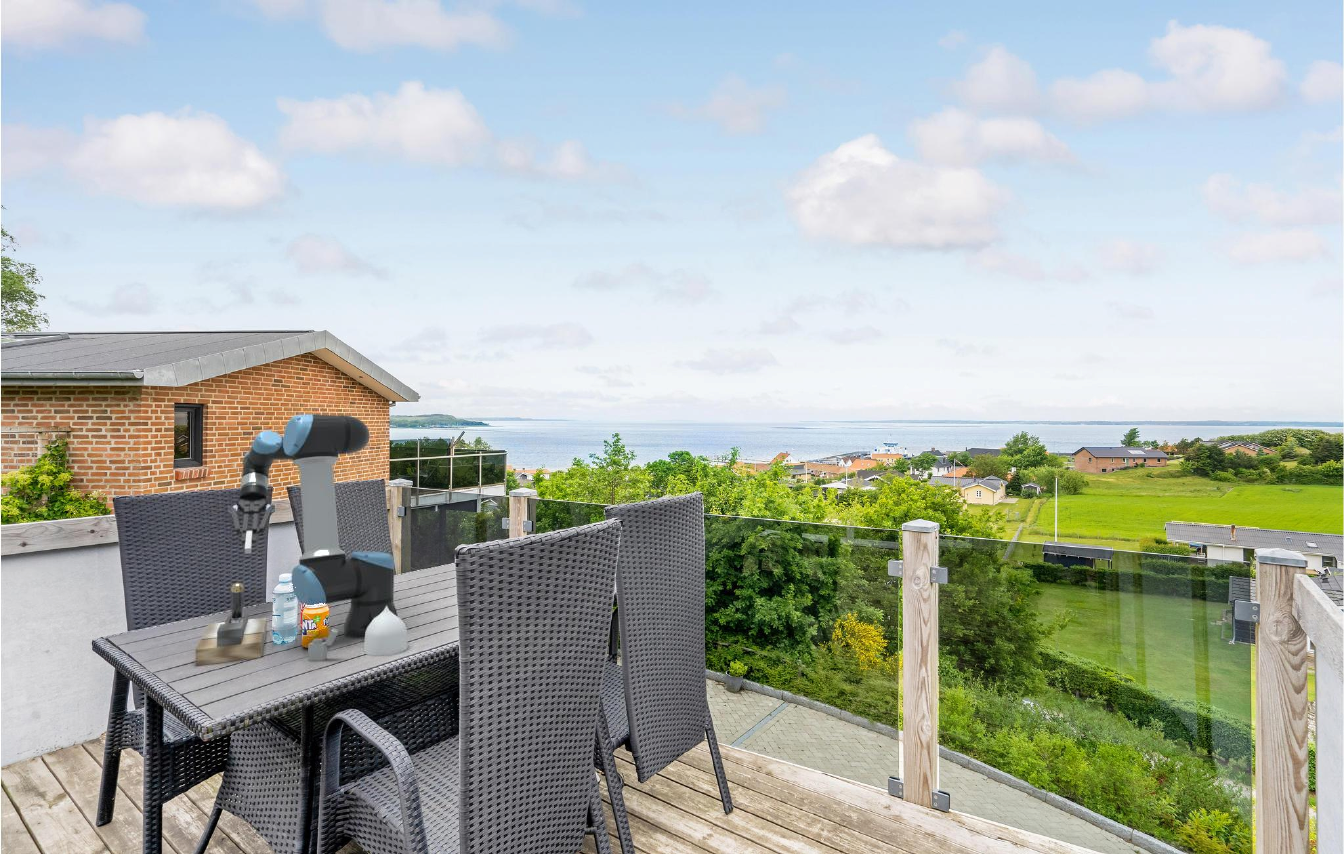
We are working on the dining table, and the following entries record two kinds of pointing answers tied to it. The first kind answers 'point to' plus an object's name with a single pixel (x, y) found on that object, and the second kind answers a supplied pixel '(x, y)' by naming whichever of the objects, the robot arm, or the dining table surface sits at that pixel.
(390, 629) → the teardrop
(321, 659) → the lighter
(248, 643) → the door and jamb
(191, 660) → the dining table surface
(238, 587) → the bolt
